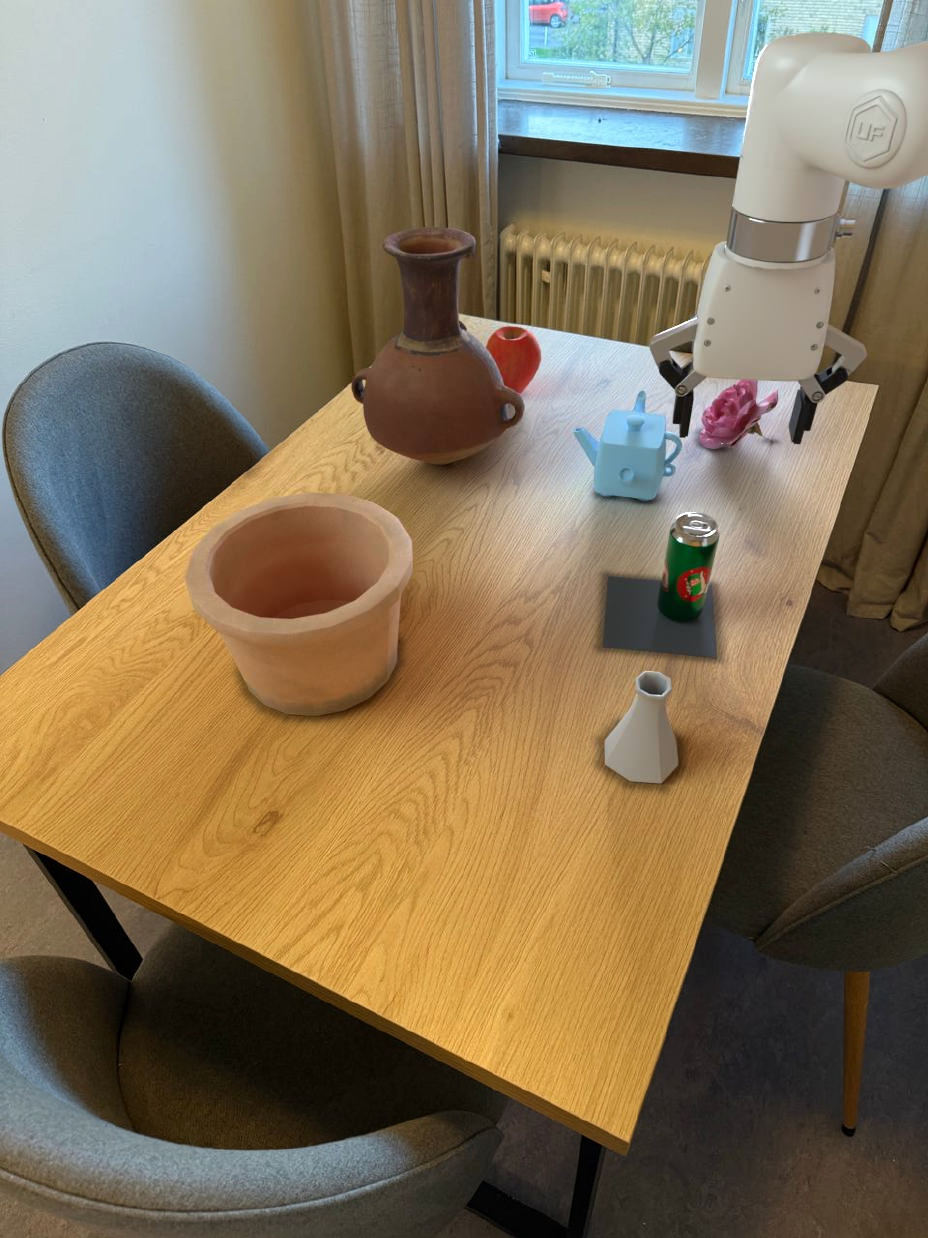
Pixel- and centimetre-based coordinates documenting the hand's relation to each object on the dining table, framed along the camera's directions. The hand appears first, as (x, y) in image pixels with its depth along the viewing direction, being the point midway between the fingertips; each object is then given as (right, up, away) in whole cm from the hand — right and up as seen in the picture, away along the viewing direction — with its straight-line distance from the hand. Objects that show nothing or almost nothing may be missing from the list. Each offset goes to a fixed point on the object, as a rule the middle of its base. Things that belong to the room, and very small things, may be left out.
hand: (738, 433), depth 75 cm
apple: (-17, +19, +58) cm, 63 cm away
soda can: (0, -16, +20) cm, 25 cm away
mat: (-3, -16, +19) cm, 25 cm away
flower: (+14, +9, +46) cm, 49 cm away
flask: (-8, -30, +5) cm, 31 cm away
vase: (-28, +6, +45) cm, 53 cm away
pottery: (-40, -21, +16) cm, 48 cm away
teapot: (-3, +2, +39) cm, 39 cm away
